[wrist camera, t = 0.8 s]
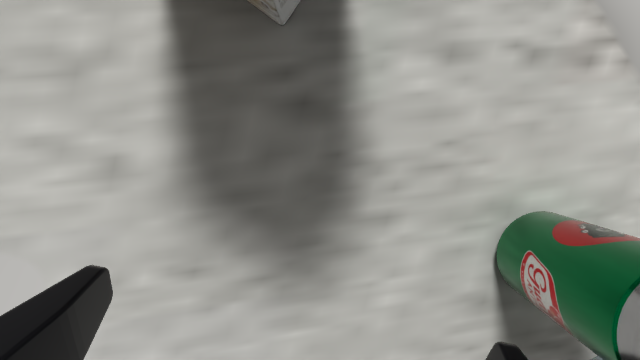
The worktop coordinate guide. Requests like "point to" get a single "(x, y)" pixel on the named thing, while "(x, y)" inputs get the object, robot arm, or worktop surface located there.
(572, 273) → the soda can
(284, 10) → the coffee box
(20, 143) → the worktop surface
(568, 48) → the worktop surface
